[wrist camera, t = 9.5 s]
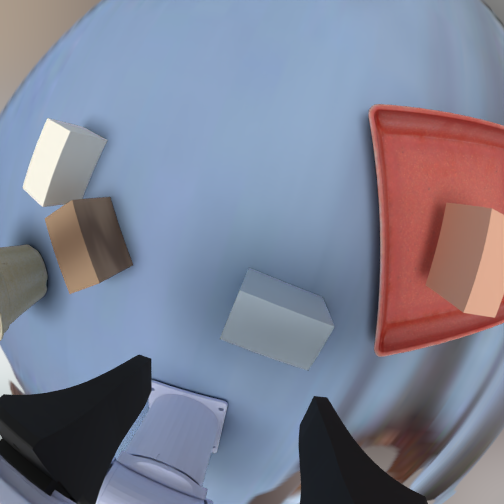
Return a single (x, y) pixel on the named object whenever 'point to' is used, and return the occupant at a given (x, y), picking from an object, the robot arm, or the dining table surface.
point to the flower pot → (19, 282)
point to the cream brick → (62, 163)
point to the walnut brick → (87, 242)
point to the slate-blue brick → (278, 320)
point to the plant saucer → (427, 216)
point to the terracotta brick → (470, 259)
